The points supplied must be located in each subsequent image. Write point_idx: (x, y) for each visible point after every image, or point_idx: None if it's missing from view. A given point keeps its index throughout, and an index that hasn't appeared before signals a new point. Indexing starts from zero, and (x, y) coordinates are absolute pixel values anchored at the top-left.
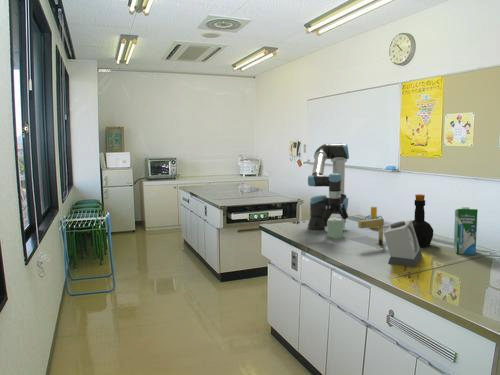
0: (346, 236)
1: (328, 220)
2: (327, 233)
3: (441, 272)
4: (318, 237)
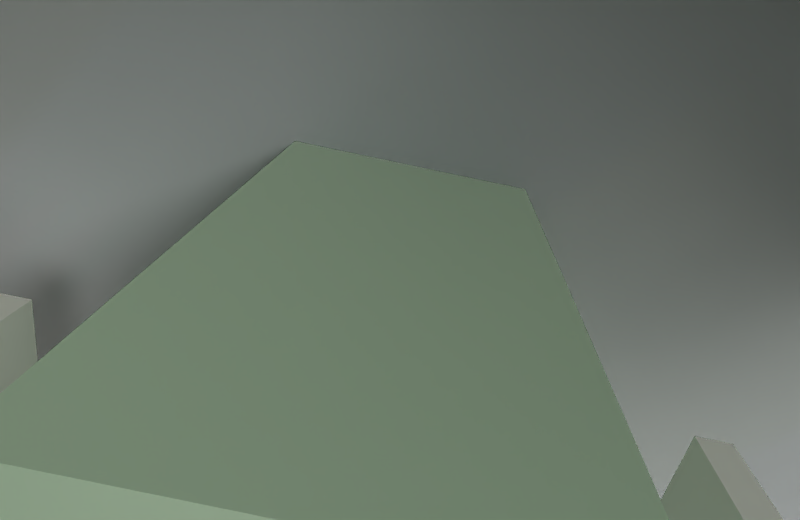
0: (629, 410)
1: (32, 490)
2: (268, 166)
3: None
4: (67, 8)
